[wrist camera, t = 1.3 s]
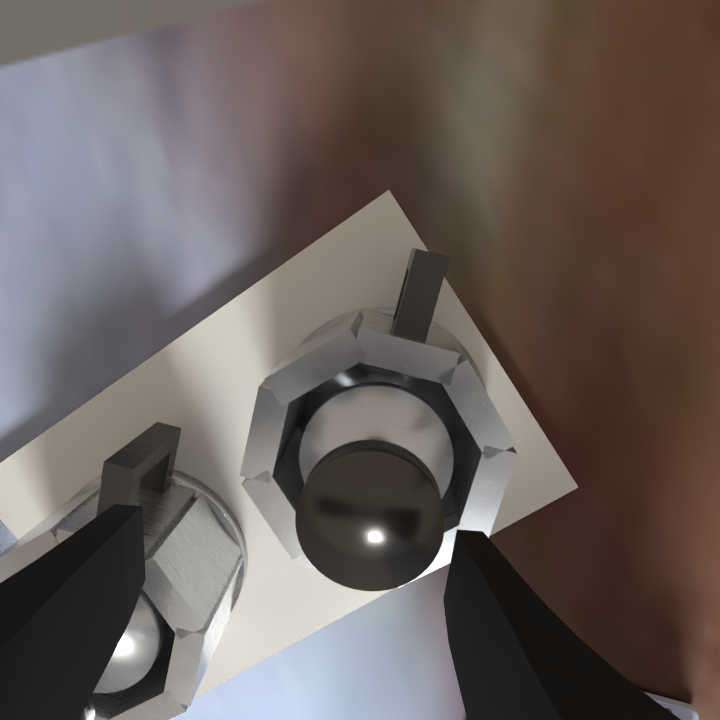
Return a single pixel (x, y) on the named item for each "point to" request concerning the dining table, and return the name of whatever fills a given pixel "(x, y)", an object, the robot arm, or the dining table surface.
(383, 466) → the near plunger
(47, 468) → the serving board
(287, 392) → the near pot
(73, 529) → the far pot
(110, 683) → the cylinder
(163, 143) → the dining table surface
